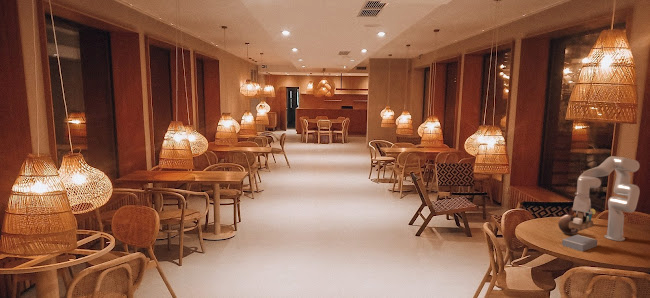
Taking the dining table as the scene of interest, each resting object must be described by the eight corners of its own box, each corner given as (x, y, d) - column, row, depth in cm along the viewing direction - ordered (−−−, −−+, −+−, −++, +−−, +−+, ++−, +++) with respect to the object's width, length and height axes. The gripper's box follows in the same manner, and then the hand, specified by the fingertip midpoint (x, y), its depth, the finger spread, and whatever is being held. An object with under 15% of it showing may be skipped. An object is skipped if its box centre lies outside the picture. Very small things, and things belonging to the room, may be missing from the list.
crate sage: (583, 220, 302) (583, 215, 302) (588, 222, 299) (589, 216, 298) (580, 221, 300) (580, 216, 300) (586, 223, 297) (586, 217, 296)
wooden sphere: (557, 230, 335) (558, 211, 333) (579, 232, 328) (580, 213, 326) (558, 235, 322) (559, 216, 320) (580, 238, 315) (582, 218, 313)
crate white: (576, 223, 297) (576, 217, 297) (581, 224, 294) (582, 219, 293) (573, 224, 295) (573, 218, 295) (579, 225, 292) (579, 219, 291)
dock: (576, 240, 310) (576, 234, 310) (597, 245, 298) (597, 239, 298) (561, 245, 299) (562, 239, 299) (582, 251, 288) (582, 245, 287)
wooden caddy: (581, 223, 305) (582, 209, 304) (592, 226, 299) (593, 211, 297) (568, 227, 296) (569, 212, 295) (580, 230, 289) (581, 215, 288)
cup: (575, 224, 351) (576, 206, 349) (575, 221, 357) (577, 204, 355) (594, 226, 343) (596, 208, 341) (595, 224, 349) (596, 206, 347)
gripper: (567, 193, 300) (566, 218, 302) (592, 198, 286) (591, 224, 288) (573, 192, 304) (571, 217, 306) (598, 196, 290) (596, 222, 292)
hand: (581, 220), depth 297 cm, fingers closed on wooden caddy, 3 cm apart
